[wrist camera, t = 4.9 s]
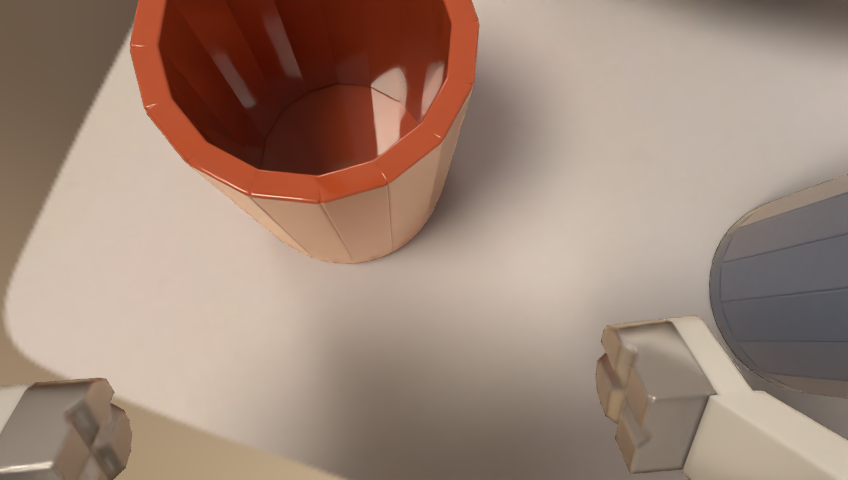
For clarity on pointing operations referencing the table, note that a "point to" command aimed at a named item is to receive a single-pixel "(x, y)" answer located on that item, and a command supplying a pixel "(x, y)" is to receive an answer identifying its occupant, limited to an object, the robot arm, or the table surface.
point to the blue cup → (788, 289)
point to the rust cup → (313, 109)
